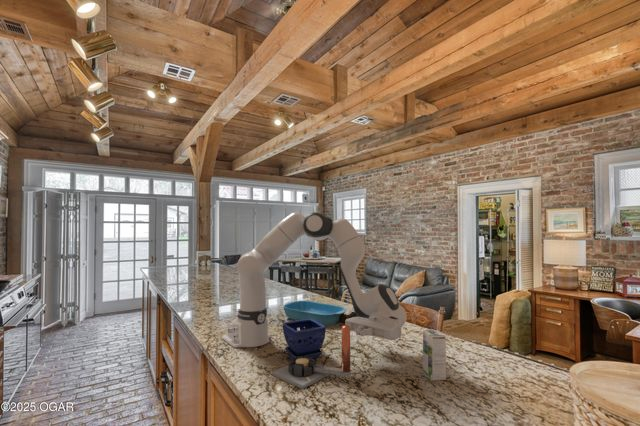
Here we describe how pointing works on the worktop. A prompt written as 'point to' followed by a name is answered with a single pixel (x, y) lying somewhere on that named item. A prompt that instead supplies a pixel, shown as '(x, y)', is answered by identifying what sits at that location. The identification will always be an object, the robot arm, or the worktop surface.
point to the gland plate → (297, 380)
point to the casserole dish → (314, 311)
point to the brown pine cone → (347, 317)
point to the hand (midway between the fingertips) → (359, 333)
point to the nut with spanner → (312, 367)
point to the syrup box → (434, 355)
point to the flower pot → (304, 338)
